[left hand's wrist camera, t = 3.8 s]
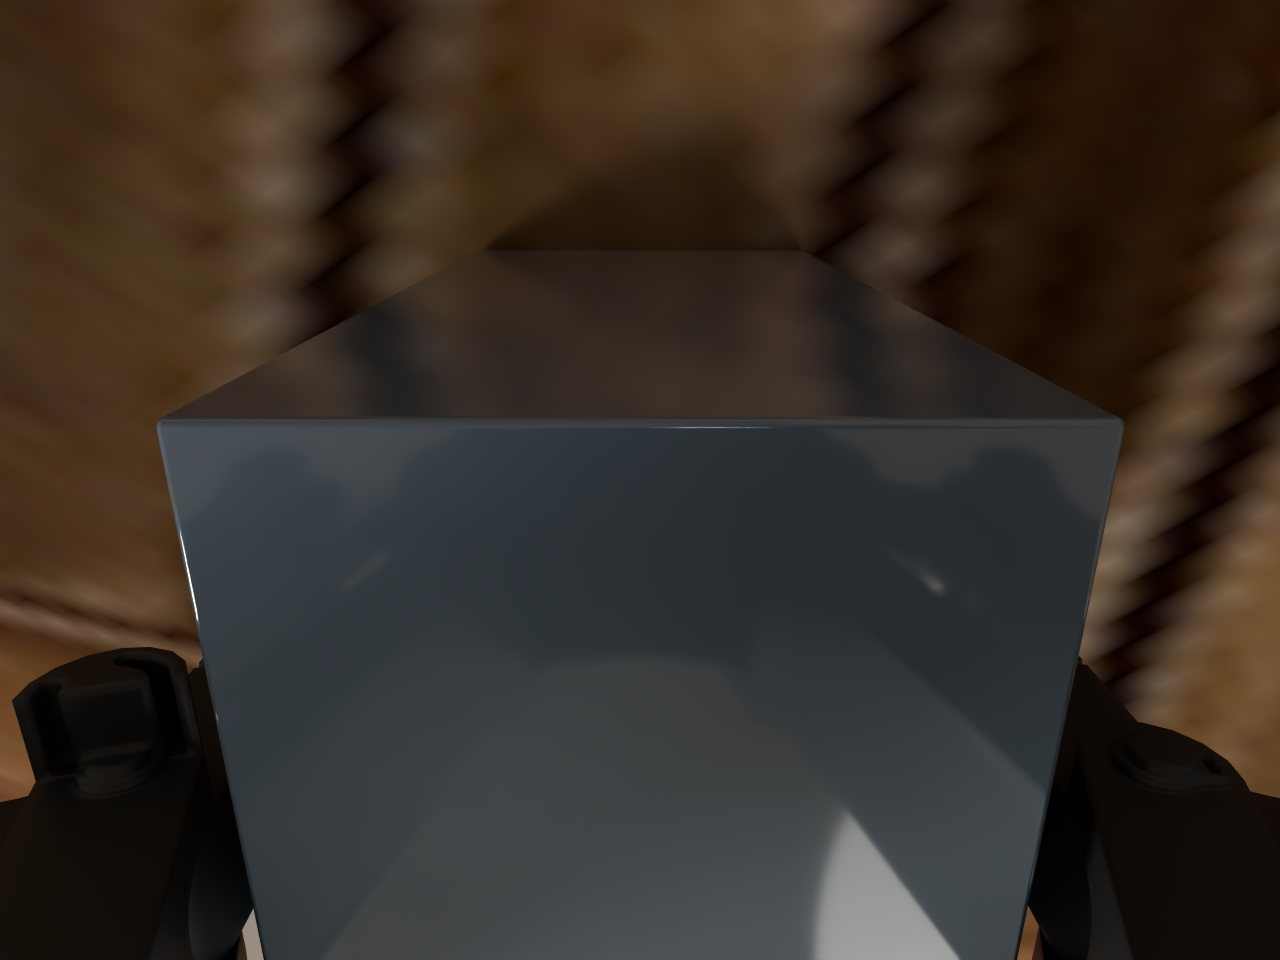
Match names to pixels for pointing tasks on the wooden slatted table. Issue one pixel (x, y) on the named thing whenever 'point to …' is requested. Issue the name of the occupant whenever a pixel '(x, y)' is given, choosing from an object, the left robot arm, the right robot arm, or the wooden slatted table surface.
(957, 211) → the wooden slatted table surface
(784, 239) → the wooden slatted table surface
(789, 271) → the brick
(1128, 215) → the wooden slatted table surface
